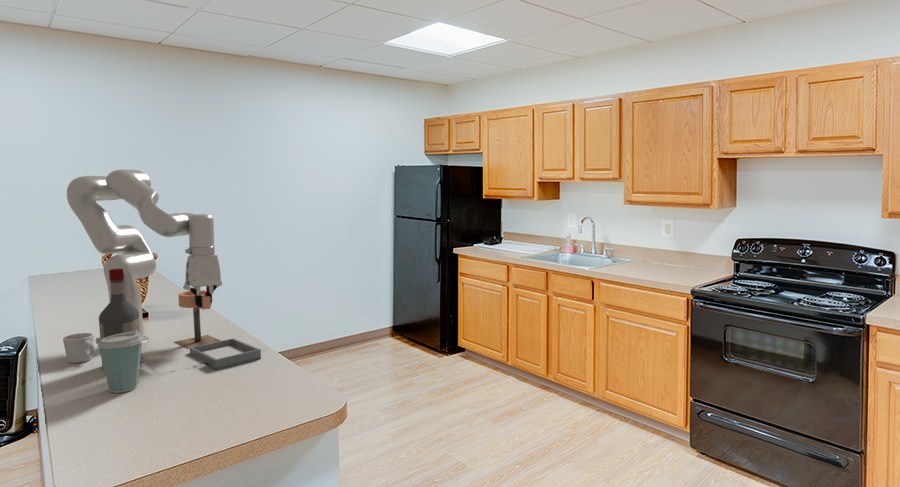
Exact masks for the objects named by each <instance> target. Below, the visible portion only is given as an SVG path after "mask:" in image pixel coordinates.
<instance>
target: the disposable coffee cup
mask: <svg viewBox="0 0 900 487" xmlns="http://www.w3.org/2000/svg"><path fill="white" fill-rule="evenodd" d="M143 343H144V342H143V338H142V337H141V336H140V333H139V332H126V333H120V334H115V335H111V336H108V337H105V338H103V339H101V340H100V341H99V342H98V344H97V347H98V350H99V351H98V352H99V354H100V359H101V364H102V363H103V367H104V368H103V367H102V368H103V371H104V374H105V378H106V383H107V386H108V389H109V390H110V391H109V392H111V393H115V394H118V393H120V394H121V393H126V392H130V391H132V390H135V389H137V387H138V384H139V377H140V368H141V367H140V366H141V362H140V361H141V360H142V359H141V354H142V350H143V349H142V348H143V347H142V346H143ZM140 359H141V360H140Z"/></svg>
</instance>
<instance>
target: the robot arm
mask: <svg viewBox="0 0 900 487" xmlns="http://www.w3.org/2000/svg"><path fill="white" fill-rule="evenodd" d="M159 199H160V196H159V193H158V191H157V190H155V189H154V188H153V187H152V181H151V178H150V177H149V175H148V174H147V173H145V172H144V171H143V170H137V169H116V170H112V171H111V172H109V173H108V174H107V175H84V176H79V177H78V176H77V177H75V178H74V179H72V180H71V181H70V182H69V184H68V186H67V188H66V200H67V203H68V205H69V207H70V209H71V210H72V212H73V214H75V216H76V217H77V218H78V220H79V221H80V222H81V225H82V226H83V228H84V230H85V232H86V234H87V235H88V238H89V239H90V240H91V242H92V244H93V246H94V248H95V249H96V250H97V252H99V253H100V254H102V255H113V254H116V255H113V256H111V257H109V258H108V259H107V260H106V261H105V262H104V265H103V274H104V278H105V280H106V284H107V290H108V301H109V303H110V302H111V301H110V299H111V283H110V277H109V270H111V269H123V274H124V279H123V283H124V295H125V297H126V300H127V301H128V302H129V303H130V304H131V305H133V306H134V307H135V308H136V309H137V310H138V312H139V323H140V336H141V337H142V338H143V342H142V343H144V342H147V341H148V340H149V337H148V336H145V335H144V322H143V321H144V320H143V319H144V318H143V306H142V305H143V304H142V292H141V289H140V287H139V285H138V283H137V282H136V281H137V280H139V279H143V278H147V277H150V276H151V275H153V274H154V273H155V271H156V269H157V263H156V262H157V260H156V258H155V257H154V255H153V253H152V251H151V249H150V247H149V246H148V244H147V242H146V240H145V238H144V236H143V235H142V233H141V232H140V231H139V230H138V229H137V228H135V227H134V226H132V225H128V224H121V225H117V224H116V223H115V222H114V221H113V219H112V217H111V216H110V213H109V212H107V210H106V209H105V208H104V207H103V206H101V205H100V204H99V203H97V202H98V201H116V200H117V201H118V200H123V201H124V202H126V203H127V204H128V205H130V206H132V207H133V208H134V209H136V210H137V212H138V215H139V217H140V220H141V221H142V223H143V224H144V225H145V226H147V227H148V228H149V229H150V230H152V231H153V232H155V233H156V234H158V235H159V236H162V237H165V238H174V237H182V236H183V237H184V236H188V240H189V241H188V242H189V246H188V248H186V249H185V250H184V251H185V254H188V256H187V257H186V258H187V259H186V264H185V282H184V284H183V287H182V289H183V290H185V291H191V292H192V293H193V294H194V295H195V304H196V306H198V307H202V296H201V294H200V290H201V287H205V290H206V293H205V295H206V296H210V304H211V303H213V294H214V292H215V290H217V288H219V287H221V286H222V285H223V283H222V278H221V277H222V274H221V268H220V266H221V265H220V262H219V256H218V255H217V254H215V228H214V226H215V224H214V222H215V221H214V217H213V215H211V214H208V213H207V214H206V213H205V214H204V213H202V214H201V213H200V214H199V213H197V214H196V213H191V212H177V213H176V212H175V213H167V212H165V211H164V210H163V209H161V208H160V207H158V205H157V203H158V202H159ZM120 253H121V254H120ZM211 305H212V304H211ZM99 341H100V336H99V337H96V338H95V344H97V345H98V342H99Z"/></svg>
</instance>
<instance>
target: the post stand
mask: <svg viewBox="0 0 900 487" xmlns="http://www.w3.org/2000/svg"><path fill="white" fill-rule="evenodd" d="M200 309H201V308H192V312H193V313H192V314H193V329H194V337H191V338H186V339H185V338H184V339H182V340H181V339H180V340H176V341H173V343H174V344H177V345H179V346H180V347H182V348H184V349H187V350H190V348H191V347H195V346H200V345H205V344H209V343H214V342H219V341H222V340H221V339H219V338H216V337H214V336H212V335H209V334H205V335H202V332H201V330H202V329H201V313H200V311H201V310H200Z"/></svg>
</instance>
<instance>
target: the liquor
mask: <svg viewBox="0 0 900 487" xmlns="http://www.w3.org/2000/svg"><path fill="white" fill-rule="evenodd" d="M109 277H110V283H111V299H110V301H111V302H109V303H108V304H107V305H106V306H105V307H104V309H103V310H102V311H101V312H100V314H99V315H98V316H99V317H98V326H99V337H100V340H101V339H103V338H105V337H108V336H111V335H115V334H120V333H126V332H139V333H140V323H139V312H138V310H137V309H136V308H135V307H134V306H133V305H131V304H130V303H129V302H128V301H127V300H126V297H125V295H124V283H123V279H124V274H123V269H111V270H109ZM142 359H143V358H142V353H141V359H140V363H141V362H142ZM101 366H102V368H103V369H104V367H103V363H102V362H101Z"/></svg>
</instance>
